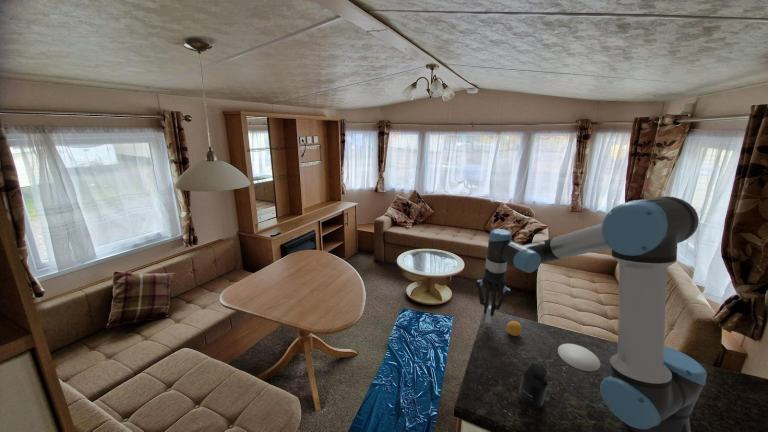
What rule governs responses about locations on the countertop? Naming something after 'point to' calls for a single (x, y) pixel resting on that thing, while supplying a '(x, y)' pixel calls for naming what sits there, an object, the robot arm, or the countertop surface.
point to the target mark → (579, 357)
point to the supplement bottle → (533, 385)
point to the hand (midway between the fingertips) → (487, 321)
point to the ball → (514, 328)
